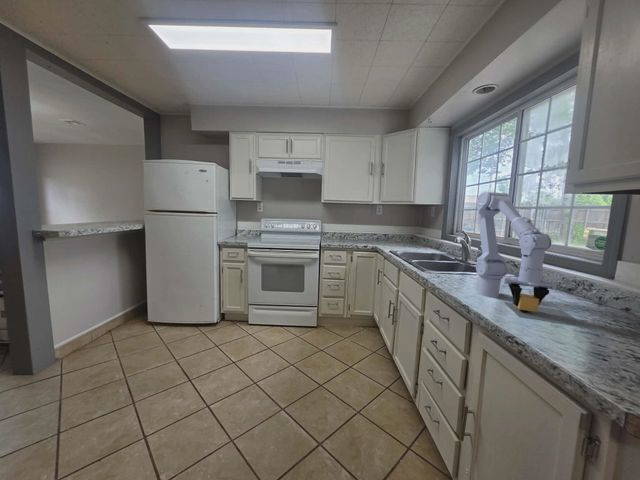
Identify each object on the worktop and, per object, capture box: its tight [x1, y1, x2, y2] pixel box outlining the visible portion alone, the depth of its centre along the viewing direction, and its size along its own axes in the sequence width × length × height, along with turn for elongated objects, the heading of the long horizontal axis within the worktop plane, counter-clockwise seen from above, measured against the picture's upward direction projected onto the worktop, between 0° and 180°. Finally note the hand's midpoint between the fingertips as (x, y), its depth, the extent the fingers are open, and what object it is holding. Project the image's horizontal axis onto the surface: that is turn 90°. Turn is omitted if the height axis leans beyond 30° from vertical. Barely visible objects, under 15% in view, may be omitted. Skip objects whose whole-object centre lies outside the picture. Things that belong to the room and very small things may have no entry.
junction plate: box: [503, 301, 591, 329], centre depth 84 cm, size 15×18×1 cm
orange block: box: [513, 292, 540, 312], centre depth 85 cm, size 5×5×4 cm
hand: (524, 306), depth 85 cm, fingers closed on orange block, 5 cm apart
